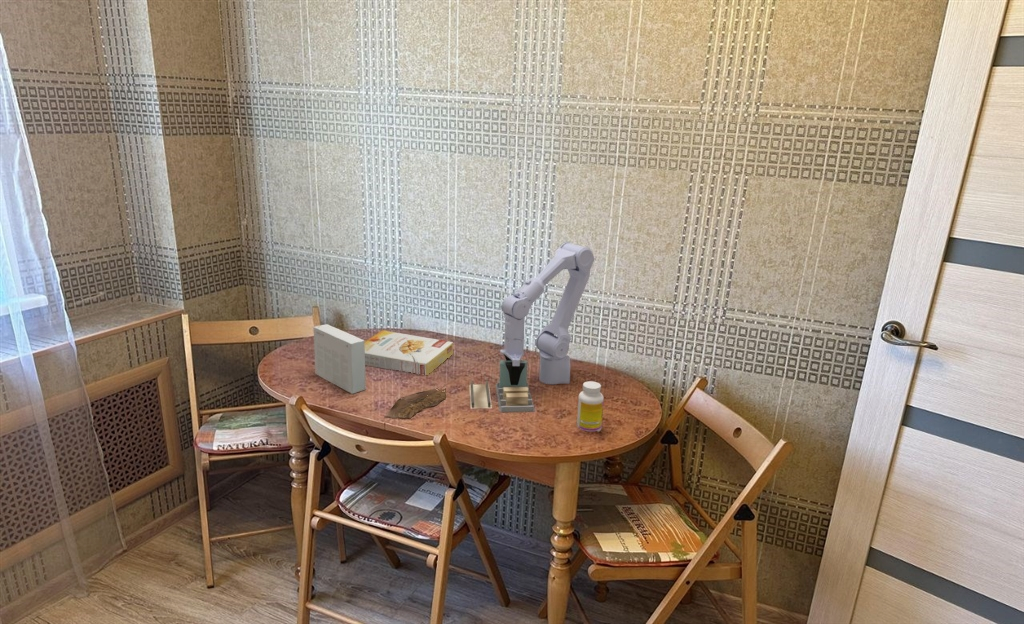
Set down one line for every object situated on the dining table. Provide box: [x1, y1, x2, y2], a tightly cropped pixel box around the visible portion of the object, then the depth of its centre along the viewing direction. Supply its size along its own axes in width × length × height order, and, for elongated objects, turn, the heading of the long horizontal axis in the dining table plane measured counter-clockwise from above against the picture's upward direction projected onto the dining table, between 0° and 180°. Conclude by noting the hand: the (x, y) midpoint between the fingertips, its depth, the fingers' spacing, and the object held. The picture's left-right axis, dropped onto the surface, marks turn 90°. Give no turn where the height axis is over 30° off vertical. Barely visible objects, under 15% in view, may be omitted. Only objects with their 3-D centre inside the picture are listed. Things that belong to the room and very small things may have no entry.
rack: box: [495, 381, 536, 413], centre depth 182 cm, size 10×19×2 cm, turn 5°
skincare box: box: [312, 323, 367, 395], centre depth 189 cm, size 21×5×16 cm, turn 47°
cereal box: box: [365, 329, 454, 376], centre depth 210 cm, size 20×6×28 cm
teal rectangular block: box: [499, 359, 528, 388], centre depth 185 cm, size 8×2×9 cm, turn 95°
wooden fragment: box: [384, 387, 447, 420], centre depth 180 cm, size 26×11×1 cm, turn 143°
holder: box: [468, 380, 493, 410], centre depth 182 cm, size 6×16×2 cm, turn 5°
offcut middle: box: [503, 387, 528, 400], centre depth 178 cm, size 7×2×4 cm, turn 95°
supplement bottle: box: [576, 380, 605, 433], centre depth 165 cm, size 7×7×13 cm
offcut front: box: [506, 393, 528, 406], centre depth 175 cm, size 6×2×4 cm, turn 95°
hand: (513, 379), depth 186 cm, fingers open, 7 cm apart
